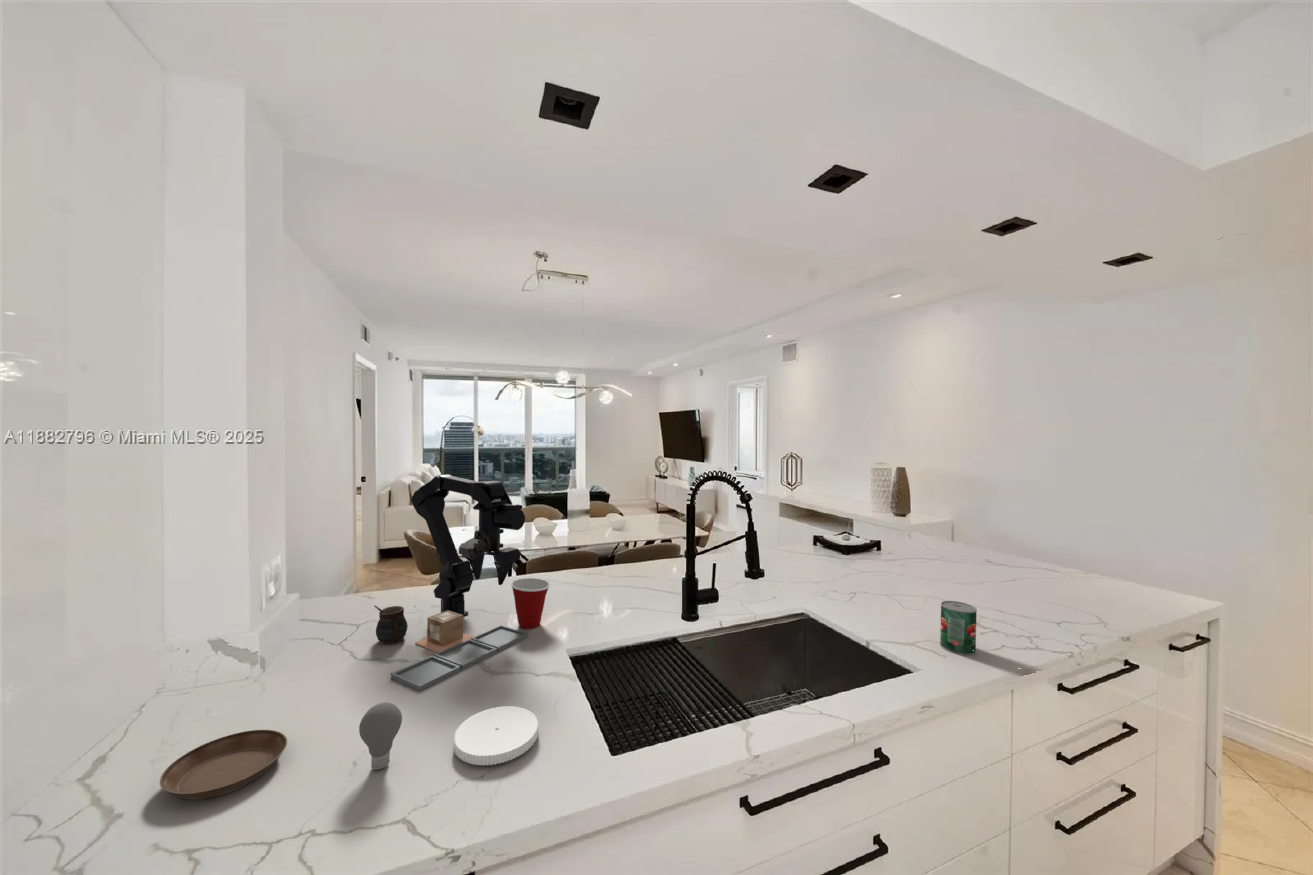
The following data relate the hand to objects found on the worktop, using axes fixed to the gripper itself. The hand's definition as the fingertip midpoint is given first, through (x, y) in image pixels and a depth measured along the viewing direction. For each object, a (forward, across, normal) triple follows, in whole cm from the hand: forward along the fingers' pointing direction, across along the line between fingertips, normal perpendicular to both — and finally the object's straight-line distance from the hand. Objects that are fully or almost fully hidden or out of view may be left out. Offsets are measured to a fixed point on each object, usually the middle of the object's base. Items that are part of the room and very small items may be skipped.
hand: (488, 582), depth 133 cm
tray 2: (+12, +10, -16) cm, 22 cm away
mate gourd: (+12, -13, -20) cm, 27 cm away
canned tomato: (+12, +114, +53) cm, 126 cm away
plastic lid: (+12, +41, -34) cm, 55 cm away
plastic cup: (+12, +10, +6) cm, 17 cm away
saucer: (+12, +11, -61) cm, 63 cm away
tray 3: (+12, +10, -5) cm, 16 cm away
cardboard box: (+12, -1, -13) cm, 17 cm away
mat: (+12, -1, -13) cm, 18 cm away
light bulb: (+12, +30, -48) cm, 58 cm away
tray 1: (+12, +10, -26) cm, 30 cm away
